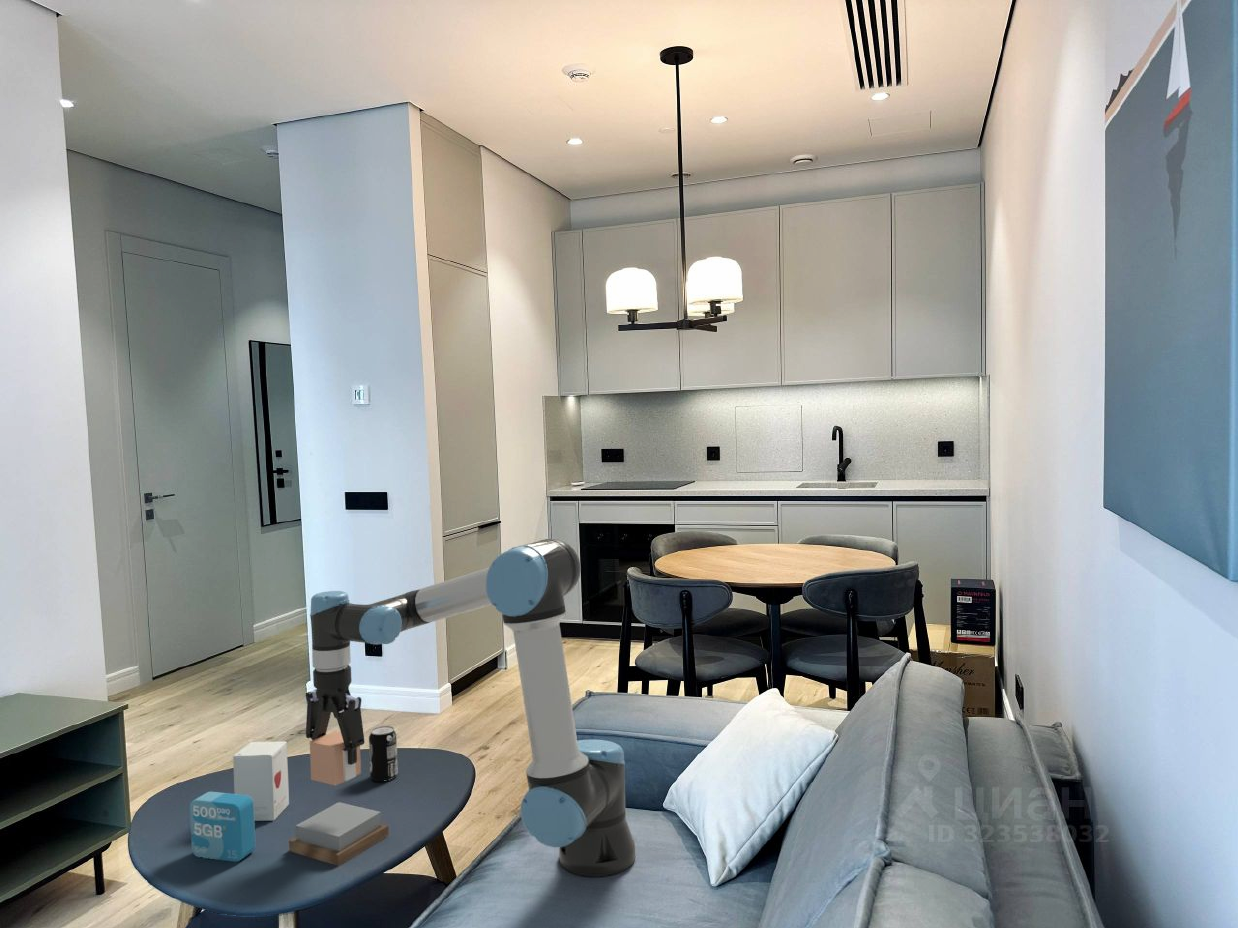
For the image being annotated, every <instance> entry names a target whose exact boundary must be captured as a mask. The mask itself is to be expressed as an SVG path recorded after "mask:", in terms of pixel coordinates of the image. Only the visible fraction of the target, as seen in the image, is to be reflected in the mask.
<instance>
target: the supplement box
mask: <svg viewBox="0 0 1238 928" xmlns="http://www.w3.org/2000/svg"><path fill="white" fill-rule="evenodd" d="M232 759H233V762H232V763H233V785H234V786H233V788H234V790H233V791H234V793H233V794H240V795H248V796H250V797H251V798H252V800H253V803H254V822H259V821H261V822H264V821H265V822H266V821H271V822H274V821H275V820H276V819H277V818H278V817H279V816H280V815H281V813H282V812H283V811H284V810H285V809H286V808H287V807H288V806H289V805H290V796H289V795H290V794H289V791H290V790H289V789H290V788H289V767H288V743H287V741H251V742H249V743H248V744H246V745H245V746H244V747H242V748H240V750H239V751H238V752H236V753H235V754H234V755H233V756H232Z"/></svg>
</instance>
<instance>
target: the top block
mask: <svg viewBox="0 0 1238 928" xmlns="http://www.w3.org/2000/svg"><path fill="white" fill-rule="evenodd" d="M381 824H382V812H381V811H378V810H374V809H371V808H370V809H369V808H366V807H360V806H356V805H354V804H353V805H352V804H348V803H345V802H336V803H334V804H332V805H331V806H329V807H328V808H325V809H324V810H321V811H320V812H318V813H316V814H314V815H313V816H311V817H309V818H307V819H305V820H303V821H302V822H299V823H298V824H296V825H295V835H296V836H295V837H296V840H299V841H303V842H306V843H310V844H314V845H318V846H321V847H325V848H329V849H333V850H336V851H341V850H343V849H344V848H346V847H348V846H349V845H351V844H353V843H354V842H356V841H357V840H359V839H361V838H362V837H364V836H366V835H367V834H369V833H371V832H372V831H374V830H375V829H377V828H379V827H380V826H381Z"/></svg>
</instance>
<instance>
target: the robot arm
mask: <svg viewBox="0 0 1238 928" xmlns="http://www.w3.org/2000/svg"><path fill="white" fill-rule="evenodd" d="M581 569H582V567H581V562H580V558H579V555H578V554H577V552H576V550H575V549H574V548H573V547H572V546H571V545H570V544H569V543H567V542H565V541H563V540H560V539H557V538H556V539H555V538H547V539H546V538H545V539H541V540H539V541H535V542H530V543H527V544H526V543H525V544H523V545H518V546H513V547H511V548H509V549H508V550H506V551H503V552H502V553H500V554H499V555H497V557H495V559H494V560H493V561H492V563H490V566H489V567H486V568H483V569H480V570H476V571H473V572H470V573H468V574H464V575H460V576H458V577H454V578H452V579H448V580H444V581H441V582H438V583H435V584H431V585H429V586H425V587H422V588H420V589H415V590H410V591H407V592H405V593H402V594H400V595H399V594H398V595H397V596H394V597H391V598H387V599H383V600H379V601H378V602H377V601H376V602H373V603H371V604H358V603H357V604H356V603H350V600H349V594H348V593H347V592H345V591H341V590H329V591H323V592H319V593H315V594H314V595H312V597H311V598H310V599H311V600H310V613H309V617H310V627H311V646H312V647H311V648H312V649H311V651H312V653H311V654H312V657H311V658H312V662H311V663H312V667H313V668H314V669H313V671H312V676H313V677H312V678H313V679H312V680H313V688H315V689H313V690H311V691H308V692H306V693H305V698H306V699H305V700H306V703H307V704H306V725H305V736H306V737H305V738H307V739H311V741H313V740H315V739H317V738H320V737H322V736H324V735H327V732H328V731H327V730H328V726H329V723H330V719H331V715H332V714H333V718H334V719H336V720H337V724H338V728H339V730H340V731H339V732H341V734H342V738H343V741H344V745H345V748H344V749H343V750H342V752H343V778H344V782H347V781H350V780H352V779H353V778H356V777H357V775H356V765H355V763H356V762H357V747H358V746H360V747H361V746H363V745H364V744H365V736H364V735H365V734H364V733H365V732H364V728H363V727H364V726H363V725H364V724H363V718H362V709H361V707H362V697H360V696H357V697H354V696H352V695H351V692H350V685H351V683H352V681H353V680H352V667H351V665H350V664H351V642H355V643H356V642H357V643H362V644H363V643H364V644H370V645H377V646H378V645H389V644H393V642H395V641H396V639H397V638H398V637H399V636H400V634H401V633H402V632H405V631H407V630H410V629H413V628H416V627H421V626H423V625H427V624H430V623H433V622H437V621H441V620H443V619H447V618H451V617H455V616H459V615H461V614H465V613H468V612H472V611H475V610H479V609H483V608H486V607H490V606H494V607H495V609H496V611H497V612H499V613H501V616H502V617H501V618H502V623H503V625H504V626H506V627H507V628H508V629H510V630H511V631H512V633H513V640H514V645H515V653H516V659H517V666H518V671H519V677H520V684H521V691H522V696H523V704H524V710H525V711H524V712H525V717H526V718H525V719H526V722H527V723H526V724H527V725H526V726H527V729H528V731H527V732H528V737H529V743H530V744H529V745H530V750H531V756H532V759H531V762H530V763H529V764H528V766H527V767H526V768H525V772H526V780H527V787H528V791H526V793H525V795H524V797H523V798H522V800H521V802H520V808H519V809H520V812H519V813H520V817H521V821H522V824H523V826H524V828H525V829H526V831H527V832H528V833H529V835H530V836H531V837H534V838H535V839H536V841H537V842H539V843H540V844H542V845H544V846H547V847H551V848H559V849H558V850H559V851H558V852H559V853H558V855H559V863H560V865H561V867H563V868H564V869H565V870H566V871H568V872H570V873H572V874H575V875H577V876H582V877H590V878H591V877H594V878H596V877H605V876H606V877H607V876H611V875H615V874H618V873H621V872H623V871H625V870H627V869H629V868H630V867H631V866H632V865H633V864H634V862H635V860H636V844H635V841H634V839H633V836H632V832H631V830H630V826H629V824H628V821H627V817H626V815H627V814H626V779H625V778H626V774H625V773H626V772H625V771H626V770H625V768H626V767H625V765H626V761H625V756H624V755H625V754H624V749H623V748H622V747H621V745H619V744H618V743H616V742H614V741H610V740H604V739H580V740H579V739H578V737H577V730H576V724H575V717H574V711H573V705H572V699H571V698H572V697H571V693H570V685H569V678H568V672H567V671H568V670H567V665H566V659H565V652H564V646H563V639H562V633H561V627H560V626H561V625H560V623H561V621H562V619H563V618H564V616H565V615H566V613H567V611H566V603H565V598H564V597H565V596H567V595H568V594H569V593H570V592H571V591H572V590H573V589H574V588H575V587H576V585H577V584H578V582H579V579H580V575H581ZM350 741H351V743H350Z"/></svg>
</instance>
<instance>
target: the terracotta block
mask: <svg viewBox="0 0 1238 928" xmlns="http://www.w3.org/2000/svg"><path fill="white" fill-rule="evenodd" d="M350 743H351V741H350ZM344 748H345V745H344V741H343V738H342V734H341V731H339V730H334V731H331V732H329V733H326V735H324V736H322V737H320V738H317V739H315V740H313V741H312V740H311V741H309V755H310V756H309V758H310V779H311V781H316V782H318V783H324V784H327V785H332V786H335V787H337V786H338V785H339V784H340V785H341V784H342V783H345V781H344V778H343V752H342V750H343V749H344ZM355 765H356V776H359V775H361V774H362V768H361V767H362V761H361V746H358V747H357V762H356V763H355Z"/></svg>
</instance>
